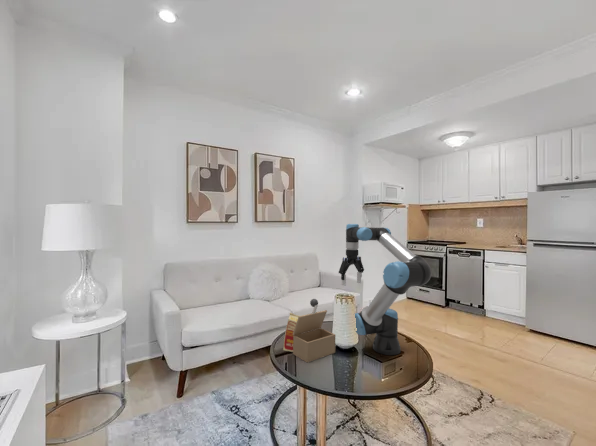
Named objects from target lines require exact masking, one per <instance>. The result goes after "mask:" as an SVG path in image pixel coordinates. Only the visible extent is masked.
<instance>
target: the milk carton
mask: <svg viewBox="0 0 596 446" xmlns="http://www.w3.org/2000/svg"><path fill="white" fill-rule="evenodd" d="M299 316H300V315H299V314H294V313H292V312H289V316H288V319H287V324H286V326H285V327H286V328H285V331H284V332H285V333H284V338H283V348H282V351H285V352H291V353H293V336H294V335H293V332H294V329H295V326H296V323H297V320H298V317H299ZM297 335H298V334H297Z"/></svg>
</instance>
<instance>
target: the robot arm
mask: <svg viewBox="0 0 596 446" xmlns="http://www.w3.org/2000/svg"><path fill="white" fill-rule="evenodd" d="M345 228H346V229H345V248H346V249H345V256H346V257H342V262H341V264H340V267H339V270H338V274H340V275H341V276H340V279H341V286H343V287H344V286H347V274H346V273H347V272H348V270H349V267H350V266H353V265H354V267H355V269H356V271H357V272H356V283H358V284H362V276H363V275H362V273H364V271H365V268H364V265H363V262H362V257H361V256H359V250H358V249H359V248H360V247H359V246H360V245H359V241H362V242H366V241H377V242H379V243H380V244H381V246H383V247H384V248H385V249H387V250H388V252H390V254H391V255H393V256H394V257H395V258H396V259H397V260H398V261H393V262H389V263H388V264H387V265H386V266H385V267H384V268H383V271H382V273H383V274H382V279H383V285H382V286H381V287H380V289H379V290H378V291H377V293H376V295H375V296H374V297H373V299H372V300H371V302H370V303H369V305H368V306H365V307H363V308H362V310H361V311H360V312H356V313H354V314H355V318H356V328H357V331H355V333H356V334H357V335H359V336H368V335H374V334H375V338H374V340H373V342H372V349H373V350H374V351H375V352H376V353H379V354H381V355H386V356H397V355H399V354H401V351H402V350H401V349H402V348H401V345H400V342H399V339H398V338H399V337H398V334H399V333H398V331H399V330H398V328H399V325H398V324H399V317H398V312H397V311H396V310H394V309H393V308H391V306H392V305H393V304H394V302H395V301H396V300H397V298H398V297H399V296H400V295H404V294H405V293H407V292H408V291H409V289H410V288H412V287H422V286H424V285H426V284H427V283H428V282H429V281H430V280H431V278H432V267H431V266H430V264H429V263H428V261H426V259H425V258H423V257H422V256H420V255H416V254H415V253H413V252H412V251H411V250H410V249H409V248H407V246H406V245H404V244H403V243H402V242H401V241H399V240H398V239H397V238H395V237H394V236H393V235H392V232H391V230H390V228H388V227H366V226H362V227H361V226H359V224H358V223H347V224H346V227H345Z"/></svg>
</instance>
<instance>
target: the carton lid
mask: <svg viewBox="0 0 596 446" xmlns="http://www.w3.org/2000/svg"><path fill="white" fill-rule="evenodd" d="M309 304H310V306H311V307H312V308H313V310H312V313H307V314H303V315H298V316H299V317H298V320H297V323H296V326H295V329H294V332H293V335H297V334H301V333H305V332H309V331H312V330H316V329H320V328H322V326H323V323H324V322H325V321H324V320H325V319H326V316H327V312H328V310H326V309H324V310H320V311H317V309H318V306H319V300H317V299H316V298H312V299H310V302H309Z"/></svg>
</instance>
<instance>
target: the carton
mask: <svg viewBox="0 0 596 446" xmlns="http://www.w3.org/2000/svg"><path fill="white" fill-rule="evenodd" d="M335 353H336V334H335V333H332V332H330V331H329V330H326V329H324V328H322V327H321V328H319V329H315V330H312V331H308V332H304V333H301V334H298V335H294V336H293V352H292V355H294V356H296V357H297V358H299V359H301V360H302V361H303V362H306V363H310V362H313V361H315V360H319V359H321V358H323V357H324V358H325V357H327V356H330V355H333V354H335Z"/></svg>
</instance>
